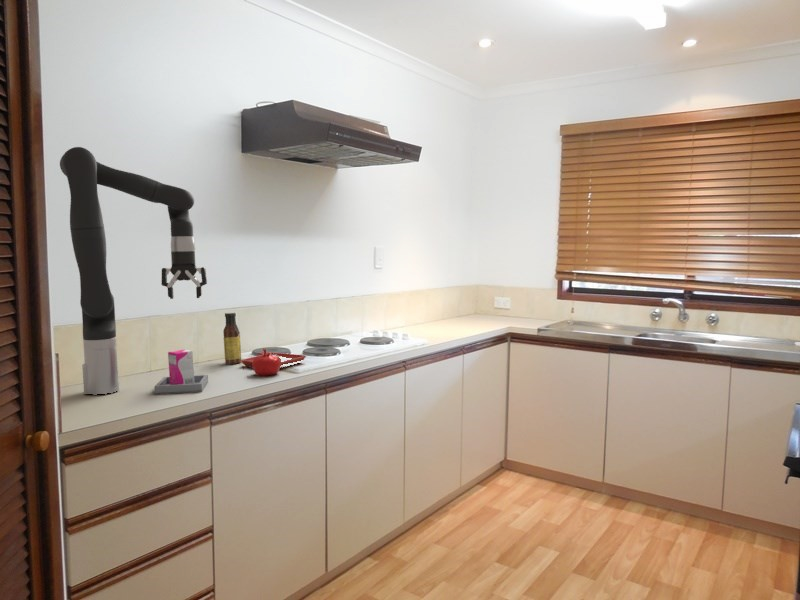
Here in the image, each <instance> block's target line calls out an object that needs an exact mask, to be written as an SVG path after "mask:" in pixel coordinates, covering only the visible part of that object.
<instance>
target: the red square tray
mask: <svg viewBox="0 0 800 600" xmlns="http://www.w3.org/2000/svg"><path fill="white" fill-rule="evenodd" d="M273 353H274V354H275V353H276V354H277V355H279V356H282V357H286V358H292V359H291V360H287V361H284V362H281V365H283V364H288V363H293V362H297V361H301V360H303V361H304V360H305V358H306V357H307V355H305V354H304V355H303V354H294V353H282V352H281V353H280V352H273ZM257 356H258V355H255V356H252V357H248V358H245V359H244V358H243V359H241V362H240V363H242V364H243V365H245V366H246V368H252V362H253V360H254V358H255V357H257Z"/></svg>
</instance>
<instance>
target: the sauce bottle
mask: <svg viewBox="0 0 800 600" xmlns="http://www.w3.org/2000/svg"><path fill="white" fill-rule="evenodd" d="M224 317H225V327H223V350H224V360H225V362H224V363H225V364H227V365H235V364H236V365H237V364H240V363H242V362H241V360H242V348H241V346H242V345H241V332H240V330H239V328H238V325H237V322H236V312H233V311H232V312H225V313H224Z"/></svg>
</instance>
